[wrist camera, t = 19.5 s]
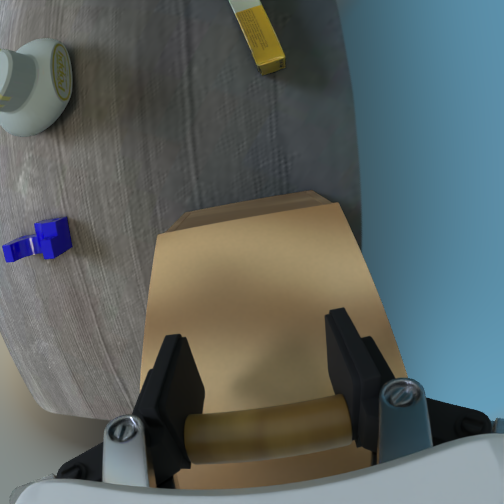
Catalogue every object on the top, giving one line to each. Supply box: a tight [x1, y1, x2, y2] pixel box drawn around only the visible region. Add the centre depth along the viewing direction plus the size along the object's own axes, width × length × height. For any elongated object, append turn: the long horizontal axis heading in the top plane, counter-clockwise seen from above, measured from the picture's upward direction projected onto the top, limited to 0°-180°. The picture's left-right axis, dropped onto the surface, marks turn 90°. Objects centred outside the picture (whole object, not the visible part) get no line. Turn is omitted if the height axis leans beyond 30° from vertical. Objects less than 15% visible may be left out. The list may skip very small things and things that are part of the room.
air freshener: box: [0, 38, 73, 137], centre depth 21 cm, size 11×8×10 cm
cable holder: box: [2, 217, 73, 262], centre depth 29 cm, size 8×4×4 cm, turn 94°
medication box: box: [228, 0, 286, 76], centre depth 22 cm, size 12×3×4 cm, turn 20°
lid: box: [140, 203, 408, 490], centre depth 14 cm, size 16×13×5 cm
